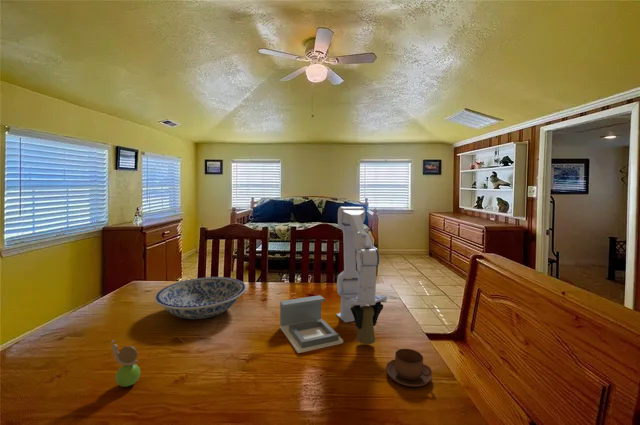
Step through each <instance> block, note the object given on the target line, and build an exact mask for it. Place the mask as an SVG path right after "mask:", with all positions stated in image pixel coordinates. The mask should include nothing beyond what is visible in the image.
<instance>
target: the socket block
mask: <svg viewBox="0 0 640 425" xmlns="http://www.w3.org/2000/svg"><path fill="white" fill-rule="evenodd" d="M325 299H326V298H324V297H323V296H322V295H314V296H313V295H312V296H306V297H300V298H293V299H286V300H280V301H279V328H280V330H281V332H282V333H283V334H284V335H285V337H286V338H287V339H288V341H289V343H290V344H291V345H292V346H293V349H294V350H295V351H296V353H297V354H300V353H306V352H310V351H314V350H319V349H324V348H327V347H332V346H337V345H341V344H344V339H343V338H342V337H341V336H340V335H339V333H338V332H337V331H336V330H335V329H333V328H332V327H331V326H330V325H329V324H328V323H327V322H326V321H325V320H324V319H323V318H322V303H323V302H325Z"/></svg>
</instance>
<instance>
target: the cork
mask: <svg viewBox="0 0 640 425" xmlns="http://www.w3.org/2000/svg"><path fill="white" fill-rule="evenodd" d="M361 309H362V310H363V311H364V312H363V315H362V323H361V329H358V328H357V332H356V341H357V342H358V343H360V344H362V345H363V344H364V345H372V344H373V343H375V342H376V336H375V335H376V334H375V326H373V318H372V317H373V316H374V309H373V308H372V307H371V306H369V305H364V306H361Z"/></svg>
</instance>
